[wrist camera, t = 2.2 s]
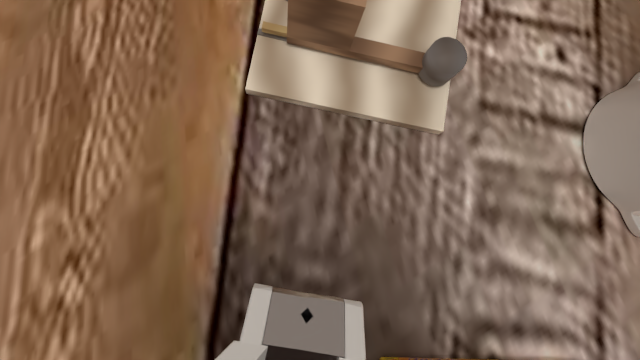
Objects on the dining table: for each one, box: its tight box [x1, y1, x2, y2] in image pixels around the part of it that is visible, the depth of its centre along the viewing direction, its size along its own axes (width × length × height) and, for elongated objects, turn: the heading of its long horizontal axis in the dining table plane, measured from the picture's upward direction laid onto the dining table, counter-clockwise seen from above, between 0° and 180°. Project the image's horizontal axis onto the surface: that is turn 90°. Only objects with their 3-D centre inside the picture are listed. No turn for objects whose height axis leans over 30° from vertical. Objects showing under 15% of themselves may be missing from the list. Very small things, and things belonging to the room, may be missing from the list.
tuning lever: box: [262, 0, 467, 86], centre depth 32 cm, size 19×4×8 cm, turn 79°
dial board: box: [245, 0, 461, 135], centre depth 37 cm, size 20×20×1 cm
